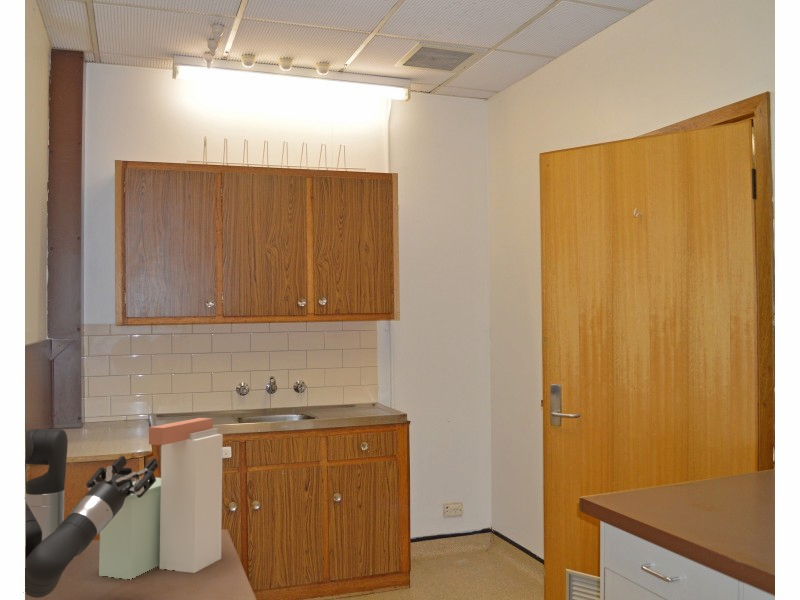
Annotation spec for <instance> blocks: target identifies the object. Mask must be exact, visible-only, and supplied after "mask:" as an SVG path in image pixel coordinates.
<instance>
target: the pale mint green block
mask: <svg viewBox="0 0 800 600" xmlns="http://www.w3.org/2000/svg"><path fill="white" fill-rule="evenodd" d="M155 478H156V481H155V483H154V484H153V485H152V486H151V487H150V488H149V489H148V490H147V491H146V493H145V494H144V495H143V496H142V497H140V498H138V497H137V495H136V494H131V495H129V496H127V497H126V498H125V501H124V504H123V506H122V508H121V509H120V510H119V511H118V513H117V514H116V515H115V516H114V517H113V519H112V520H111V521H110V522H109V523H108V524H107V526H106V527H105V528H104V529H103V530H102V531H101V532H100V533H99V559H98V560H99V561H98V562H99V563H98V576H99V577H102V576H108V577H107V578H111V577H114V578H113V579H119V578H122V579H121V580H127V579H130V580H129V581H131V580H133V579H135V578H137V577H136V576H138V577H140V576H141V574H142V575H144V574H146V573H147V571H148V572H150V571H152V570H154V569H156V568H158V567H160V566H159V565H160V506H161V477H156V476H155ZM148 481H149V480H148ZM135 483H136V481H135V480H134V482H133V484H135ZM157 566H158V567H157ZM155 567H156V568H155ZM153 568H154V569H153ZM151 569H152V570H151ZM149 570H150V571H149ZM145 572H146V573H145ZM143 573H144V574H143ZM139 575H140V576H139ZM132 578H133V579H132Z"/></svg>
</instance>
